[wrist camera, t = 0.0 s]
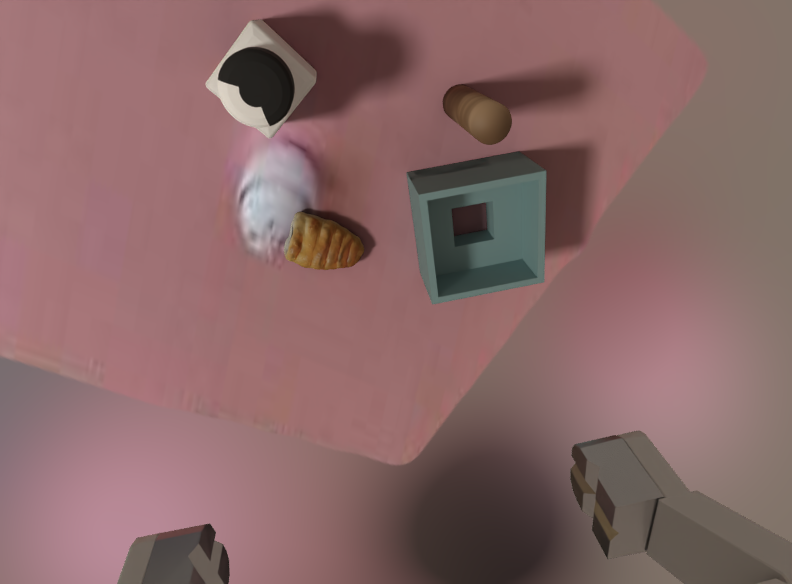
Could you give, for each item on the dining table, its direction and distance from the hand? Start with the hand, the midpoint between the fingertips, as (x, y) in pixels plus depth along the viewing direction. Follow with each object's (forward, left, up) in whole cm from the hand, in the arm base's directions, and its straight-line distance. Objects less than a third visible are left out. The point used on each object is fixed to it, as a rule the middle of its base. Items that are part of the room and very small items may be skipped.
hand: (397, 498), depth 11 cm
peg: (+1, +13, -48) cm, 50 cm away
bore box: (+15, +13, -48) cm, 52 cm away
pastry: (+14, -5, -48) cm, 51 cm away
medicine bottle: (-5, -6, -48) cm, 49 cm away
